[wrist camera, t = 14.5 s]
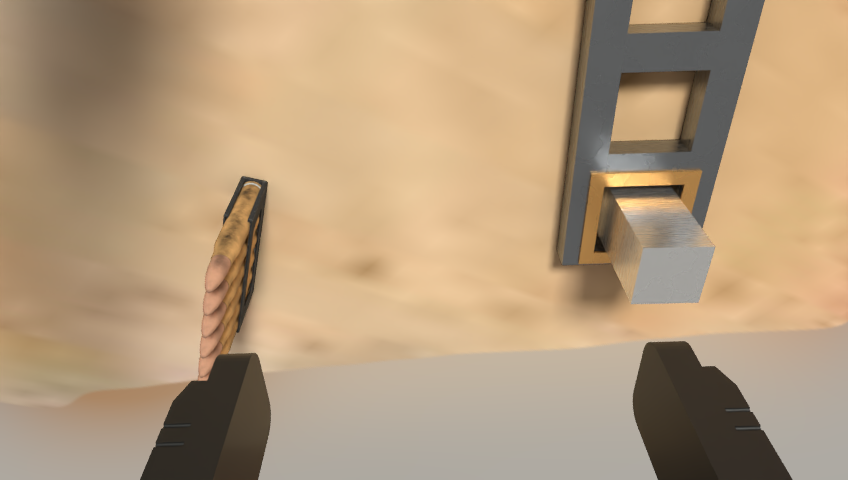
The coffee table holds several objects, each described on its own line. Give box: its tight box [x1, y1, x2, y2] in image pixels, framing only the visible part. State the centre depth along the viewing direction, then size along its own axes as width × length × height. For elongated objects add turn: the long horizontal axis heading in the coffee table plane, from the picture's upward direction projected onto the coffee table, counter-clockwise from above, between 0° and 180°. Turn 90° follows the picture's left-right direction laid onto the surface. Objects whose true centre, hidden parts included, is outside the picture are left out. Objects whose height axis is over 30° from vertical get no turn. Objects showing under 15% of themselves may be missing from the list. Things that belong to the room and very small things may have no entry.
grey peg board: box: [557, 0, 765, 265], centre depth 40 cm, size 24×10×2 cm, turn 1°
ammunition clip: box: [198, 176, 268, 381], centre depth 42 cm, size 11×2×12 cm, turn 165°
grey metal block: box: [597, 185, 715, 304], centre depth 42 cm, size 4×4×9 cm
